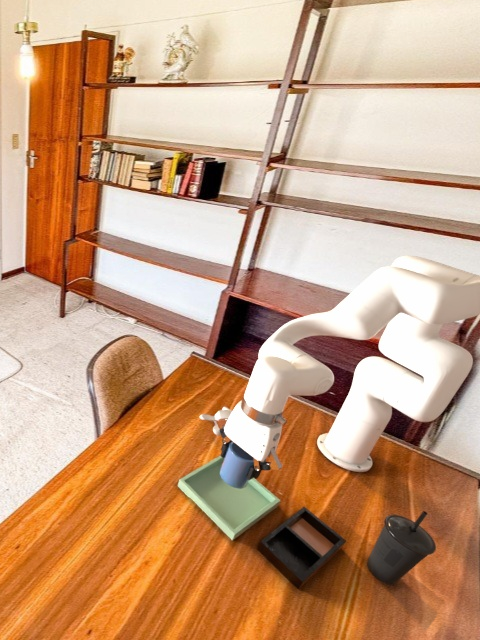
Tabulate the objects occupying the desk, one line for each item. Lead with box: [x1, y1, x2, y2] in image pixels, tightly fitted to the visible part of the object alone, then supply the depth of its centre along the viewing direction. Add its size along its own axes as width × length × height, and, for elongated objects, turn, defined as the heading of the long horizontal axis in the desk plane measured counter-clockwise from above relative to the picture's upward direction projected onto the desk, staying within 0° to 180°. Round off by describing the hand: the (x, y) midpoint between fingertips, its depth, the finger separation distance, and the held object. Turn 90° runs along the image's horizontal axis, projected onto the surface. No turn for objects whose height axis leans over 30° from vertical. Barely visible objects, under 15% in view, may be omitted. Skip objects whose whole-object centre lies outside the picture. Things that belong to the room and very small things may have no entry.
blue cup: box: [220, 441, 254, 489], centre depth 94 cm, size 6×6×9 cm
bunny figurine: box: [199, 406, 233, 436], centre depth 118 cm, size 10×5×15 cm
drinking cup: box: [366, 510, 437, 585], centre depth 80 cm, size 8×8×20 cm
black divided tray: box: [256, 506, 347, 591], centre depth 87 cm, size 17×9×3 cm, turn 119°
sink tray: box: [177, 455, 281, 541], centre depth 98 cm, size 18×16×3 cm
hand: (238, 465), depth 94 cm, fingers closed on blue cup, 6 cm apart
